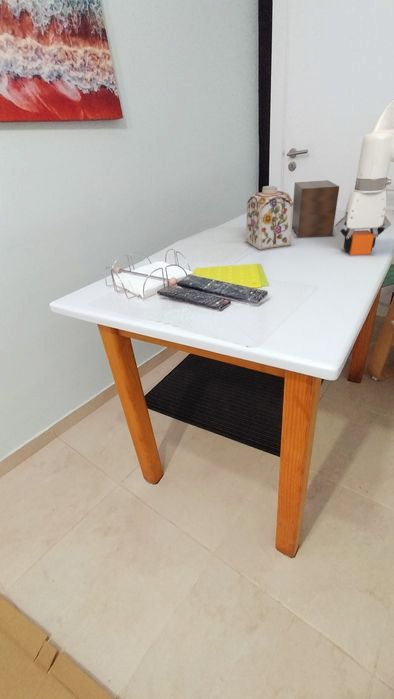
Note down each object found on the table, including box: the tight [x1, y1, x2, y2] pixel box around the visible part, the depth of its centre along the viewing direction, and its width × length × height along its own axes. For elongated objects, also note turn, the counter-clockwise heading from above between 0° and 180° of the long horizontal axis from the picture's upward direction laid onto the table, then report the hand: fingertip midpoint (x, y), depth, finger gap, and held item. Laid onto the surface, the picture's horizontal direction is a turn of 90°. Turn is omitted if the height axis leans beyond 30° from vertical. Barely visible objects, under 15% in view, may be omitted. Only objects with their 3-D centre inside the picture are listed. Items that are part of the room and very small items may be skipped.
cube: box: [347, 229, 374, 256], centre depth 101 cm, size 6×6×6 cm
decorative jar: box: [245, 185, 293, 251], centre depth 112 cm, size 12×12×18 cm
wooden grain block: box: [292, 179, 340, 238], centre depth 123 cm, size 12×17×16 cm
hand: (357, 250), depth 102 cm, fingers closed on cube, 5 cm apart
